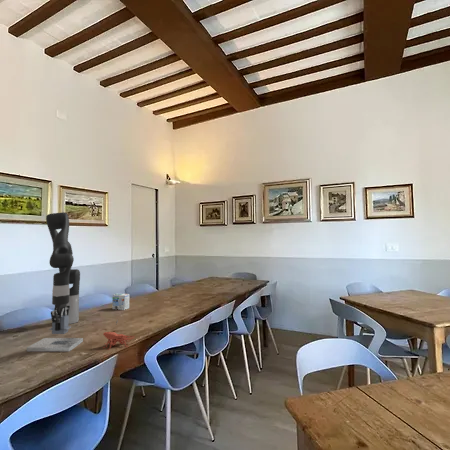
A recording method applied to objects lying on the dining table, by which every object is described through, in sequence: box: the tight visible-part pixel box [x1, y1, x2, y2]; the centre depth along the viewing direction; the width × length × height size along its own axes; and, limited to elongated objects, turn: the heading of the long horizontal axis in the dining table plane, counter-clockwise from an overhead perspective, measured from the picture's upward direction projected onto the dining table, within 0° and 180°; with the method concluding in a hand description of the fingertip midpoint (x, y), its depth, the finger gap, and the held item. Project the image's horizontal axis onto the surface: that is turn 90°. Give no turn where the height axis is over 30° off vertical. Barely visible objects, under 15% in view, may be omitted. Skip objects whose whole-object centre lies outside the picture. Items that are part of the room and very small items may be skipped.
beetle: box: [102, 318, 136, 350], centre depth 157 cm, size 15×12×13 cm
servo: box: [49, 315, 72, 335], centre depth 155 cm, size 4×8×8 cm, turn 89°
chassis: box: [26, 337, 84, 353], centre depth 154 cm, size 14×20×2 cm
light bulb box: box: [111, 292, 130, 311], centre depth 236 cm, size 11×7×11 cm, turn 76°
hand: (60, 328), depth 154 cm, fingers closed on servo, 4 cm apart
